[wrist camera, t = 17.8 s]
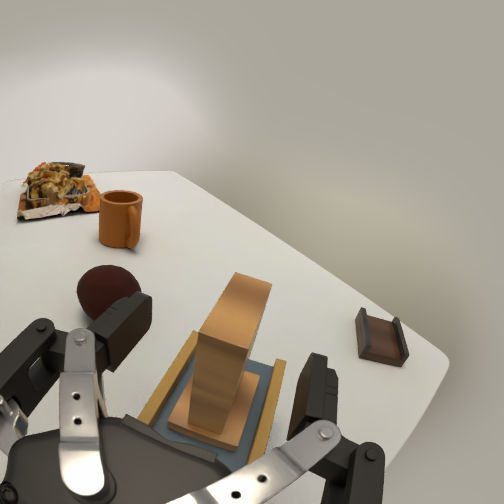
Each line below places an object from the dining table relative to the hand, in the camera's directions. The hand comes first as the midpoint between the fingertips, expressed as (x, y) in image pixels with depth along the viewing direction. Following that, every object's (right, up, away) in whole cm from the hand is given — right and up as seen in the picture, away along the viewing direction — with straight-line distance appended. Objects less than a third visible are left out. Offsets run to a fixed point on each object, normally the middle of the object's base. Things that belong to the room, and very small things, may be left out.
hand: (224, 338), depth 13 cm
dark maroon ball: (-18, -5, +22) cm, 29 cm away
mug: (-25, +6, +41) cm, 48 cm away
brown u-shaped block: (+22, -11, +30) cm, 38 cm away
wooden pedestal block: (-1, -8, +7) cm, 10 cm away
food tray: (-55, +20, +55) cm, 80 cm away
